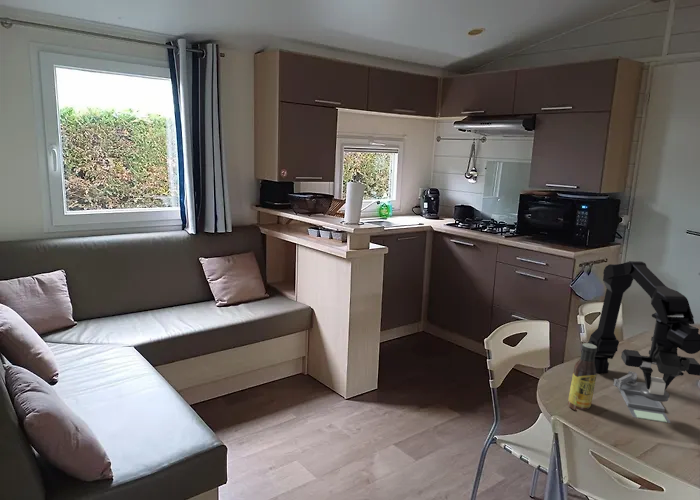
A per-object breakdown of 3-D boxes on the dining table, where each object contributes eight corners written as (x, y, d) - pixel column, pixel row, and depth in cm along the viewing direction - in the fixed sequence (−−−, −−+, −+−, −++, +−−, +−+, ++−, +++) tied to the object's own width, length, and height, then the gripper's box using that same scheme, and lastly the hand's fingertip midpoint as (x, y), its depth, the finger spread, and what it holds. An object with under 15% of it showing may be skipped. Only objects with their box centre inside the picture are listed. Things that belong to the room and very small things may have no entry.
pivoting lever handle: (612, 387, 162) (613, 379, 161) (629, 379, 169) (630, 370, 168) (620, 391, 160) (621, 382, 159) (637, 382, 167) (638, 373, 166)
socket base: (632, 420, 147) (633, 414, 146) (612, 381, 170) (613, 375, 170) (670, 427, 144) (672, 419, 144) (645, 386, 168) (646, 380, 167)
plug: (644, 399, 143) (646, 383, 142) (637, 387, 150) (640, 372, 148) (672, 403, 141) (675, 387, 140) (664, 391, 148) (667, 376, 147)
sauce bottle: (576, 414, 149) (586, 350, 145) (562, 403, 155) (571, 342, 150) (595, 412, 151) (605, 349, 146) (581, 401, 157) (590, 340, 152)
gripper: (635, 344, 136) (626, 398, 140) (715, 355, 132) (703, 409, 135) (625, 329, 147) (616, 379, 150) (698, 338, 142) (688, 390, 146)
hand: (655, 389), depth 145 cm, fingers closed on plug, 3 cm apart
